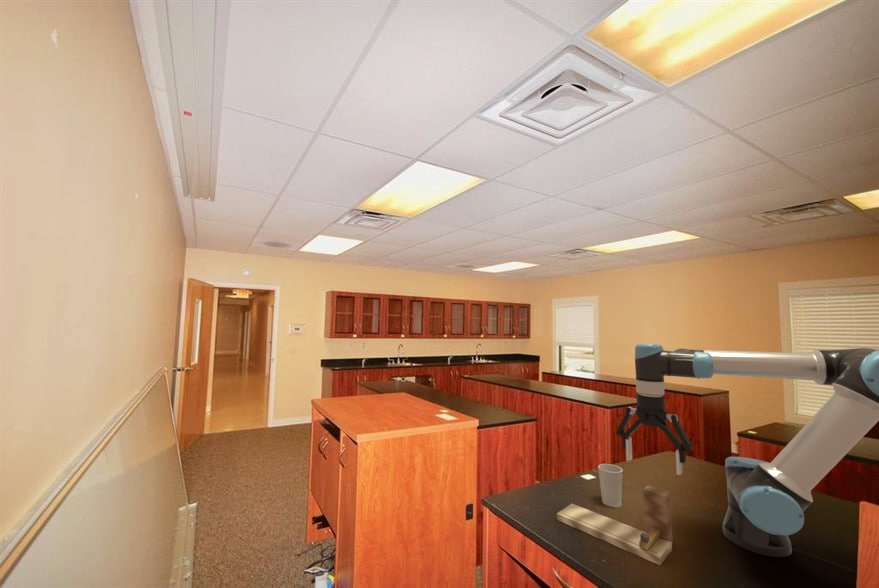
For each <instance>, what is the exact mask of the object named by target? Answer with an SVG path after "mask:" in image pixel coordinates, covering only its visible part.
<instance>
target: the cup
mask: <svg viewBox="0 0 879 588" xmlns="http://www.w3.org/2000/svg"><path fill="white" fill-rule="evenodd" d="M597 468H598V476H599V485H600V493H601V494H600V495H601V502H602V504H604V505H605V506H607V507H609V508H620V507H622V504H623V503H622V491H623V490H622V489H623V470H624V469H623V468H621V467H620V466H618V465H615V464H610V463H609V464H608V463H601V464H598V466H597Z"/></svg>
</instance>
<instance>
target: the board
mask: <svg viewBox="0 0 879 588" xmlns="http://www.w3.org/2000/svg"><path fill="white" fill-rule="evenodd" d="M556 521H558V522H560V523H563V524H564V525H567V526H570V527H571V528H574V529H577V530H579V531H580V532H583V533H585V534H588V535H589V536H592V537H595V538H596V539H599V540H601V541H603V542H606V543H608V544H610V545H611V546H612V545H613V546H615V547H616V548H619V549H621V550H624V551H626V552H629V553H631V554H632V555H633V554H634V556H637V557H640V558H641V559H644V560H647V561H649V562H651V563H653V564H656V565H658V566H661V565H662V563H664V562H665V560H666V558H667V557H668V556H669V555H670V553H671V552H672V551H673V543H672V542H669V541H667V540H664V539H662V538H658V539H657V540H656V542H655V543H654V544H653V545H652V546H651V547H650V548H649V549H648V551H647V550H645V549H643V548H640V546H639V541H640V540H641V539H640V535H641V534H642V533H644V534H647V533H646V532H645V530H644V531H643V530H641V529H638V528H636V527H633V526H630V525H628V524H625V523H623V522H620V521H617V520H616V519H613V518H610V517H607V516H605V515H602V514H600V513H597V512H595V511H593V510H589V509H587V508H585V507H582V506H579V505H577V504H574V503H571V504H569V505H567V506H566V507H564V508H562V509H561V510H560V511H558V512H557V513H556Z"/></svg>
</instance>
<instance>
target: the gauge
mask: <svg viewBox="0 0 879 588" xmlns="http://www.w3.org/2000/svg"><path fill="white" fill-rule="evenodd" d="M642 495H643V497H642V499H643V500H642V501H643V516H644V517H643V518H644V532H646V533H647V534H644V533H642V534H641V535H640V539H641V540H640V541H639V546H640V548H643V549H645V550H647V551H648V549H649V548H650V547H651V546H652V545H653V544H654V543H655V542H656V540H657V539H658V538H662V539H664V540H667V541H669V542H672V544H673V543H674V537H673V536H674V535H673V523H672V503H671V492H670V491H667V490H665V489H661V488H658V487H654V486H650V485H646V486H645V487H644V488H643V489H642Z"/></svg>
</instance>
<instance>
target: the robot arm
mask: <svg viewBox="0 0 879 588" xmlns="http://www.w3.org/2000/svg"><path fill="white" fill-rule="evenodd" d="M634 365H635V367H634V368H635V392H636V393H637V394H636V408H633V406H628V407H626V408H625V413H624V414H625V415H624V417H623V418H622V420H621V422H620V424H619V426H618V428H617V430H616V432H615V434H616V436H620V437H621V438H622V448H623V449H625V457H626V460H625V461H627V462H630V461H632V460H633V444H632V437H630V436H631V435H632V434H633V433H634V432H635V431H636V430H637V429H638V428H639V427H641V426H642V425H644V426H648V427H649V426H650V427H652V428H659V429H660V430H661V431H662V432H663V433H664V434H665V435H666V437H667V438H668V439H669V441H671V443H672V444H673V445H674V446H675V448H676V450H675V465H676V469H675V470H676V475H677V476H681V475H682V474H683V464H685V463H686V461H687V457H686V456H687V453H686V452H690V451H692V450H693V449H694V446H693V444H692V442H691V441H690V439H689V437H688V435H687V433H686V432H685V430H684V428H683V426H682V423H680V418H679V415H678V414H677V413H674V414H669V413H667V412H666V398H665V396H664V395H665V376H666V377H681V378H693V379H697V380H698V379H712V378H713V375H719V376H737V377H752V378H754V377H755V378H769V379H770V378H771V379H785V380H786V379H787V380H798V381H799V380H800V381H801V380H803V381H813V382H814V383H816V384H817V385H823V386H824V385H826V386H832V387H833V390H834V394H833V395H832V396H830V398H829V399H828V400H827V401H826V402H825V403H824V404H823V405H822V407H821V408H819V410H818V411H816V413H815V414H814V415H813V416H812V417H811V418H810V419H809V420H808V422H807V423H806V424H805V425H804V426H803V427H802V428H801V429H800V430H799V432H797V434H796V435H795V436H794V437H792V439H791V440H790V441H789V442H788V443H787V444H786V445H785V446H784V448H783V449H782V450H781V451H780V452H779V453H778V454H777V455H776V456H775V458H773V460H771V462H768V461H764V460H760V459H755V458H750V457H742V456H728V457H726V458H725V462H724V463H725V465H724V468H725V477H726V490H727V502H728V503H727V505H728V506H727V507H728V508H727V510H726V513H725V517H724V520H723V521H722V532H723V533H722V534H723V535H724V537H725V538H726V539H727V540H729V541H730V542H731V543H733V544H735V545H736V546H738V547H741V548H742V549H744V550H747V551H750V552H752V553H755V554H759V555H762V556H766V557H767V556H768V557H773V558H787V557H790V556H791V555H792V554H793V550H792V549H793V548H792V543H791V539H790V537H789V536H791V535H794V534H796V533H798V532H799V531H800V530H801V529H802V528H803V527H804V525H805V524H804V523H805V514H804V511H805V510H806V509H807V508H809V506H811V504H812V503H813V502H814V499H813V496H812V490H813V489H814V488H815V487H816V486H817V485H818V484H819V483H820V482H821V480H823V479H824V478H825V477H826V475H827V474H828V473H829V472H830V471H831V470H832V469H833V468H834V467H835V466H837V464H838V463H839V462H840V461H841V460H842V459H843V458H844V457H845V456H846V455H847V454H848V453H849V452H850V451H851V450H852V449H853V448H854V447H855V445H857V443H859V441H861V439H862V438H864V436H865V435H867V433H869V431H870V430H872V428H873V427H874V426H875V425H876V424H877V423H878V422H879V349H876V348H868V347H867V348H865V347H860V348H859V347H858V348H845V349H843V348H842V349H825V350H824V349H814V350H812V351H810V352H808V353H806V352H781V351H780V352H776V351H774V352H773V351H753V350H751V351H749V350H747V351H745V350H717V349H716V350H714V349H713V350H712V349H689V348H678V349H675V350H671V351H670V350H665V349H664V348H663V345H662V344H660V343H638V344H636V345H635V346H634ZM635 414H636V416H637V417H638V419H636V421H635V422H633V424H632V425H631V426H630V427H628V429H627V430H626V428H627V426H628V425H629V423H630V420H631V419H632V416H634V415H635ZM667 419H668V421H669V422H670V423H671V424H672V426H673V428H674V430H675V432H676V434H677V435H678V436H677V435H676V434H675V433H674V431H673V430H672V429H671V428H670V426H669V424H668V423H667V422H666V420H667Z"/></svg>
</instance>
